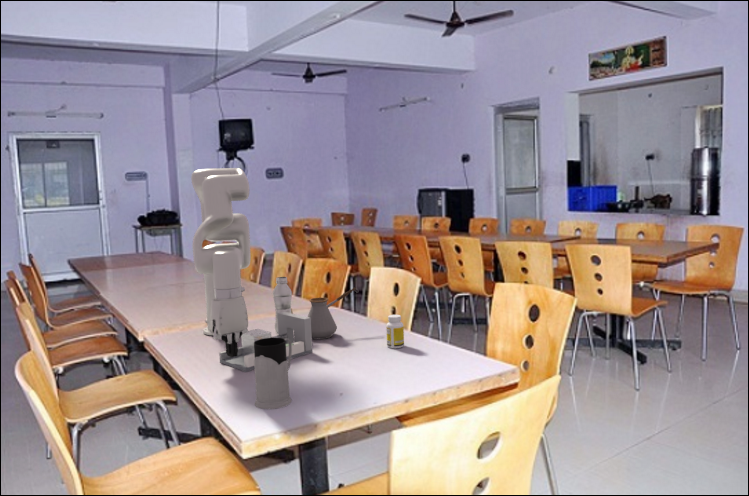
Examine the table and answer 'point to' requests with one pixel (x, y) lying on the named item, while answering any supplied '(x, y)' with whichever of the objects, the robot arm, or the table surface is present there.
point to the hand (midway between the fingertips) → (232, 355)
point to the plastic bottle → (282, 298)
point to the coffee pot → (323, 317)
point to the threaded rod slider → (255, 339)
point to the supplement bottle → (395, 332)
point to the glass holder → (272, 373)
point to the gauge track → (286, 324)
